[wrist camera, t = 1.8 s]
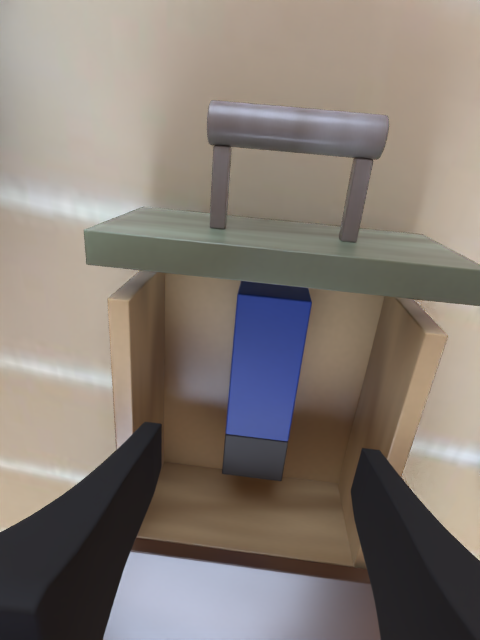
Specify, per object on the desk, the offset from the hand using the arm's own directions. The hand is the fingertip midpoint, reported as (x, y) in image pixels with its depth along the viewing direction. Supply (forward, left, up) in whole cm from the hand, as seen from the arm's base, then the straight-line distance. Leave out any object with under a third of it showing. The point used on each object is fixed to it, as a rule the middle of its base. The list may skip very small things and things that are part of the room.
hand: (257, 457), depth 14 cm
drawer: (0, -2, -8) cm, 8 cm away
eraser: (0, 0, -7) cm, 7 cm away
